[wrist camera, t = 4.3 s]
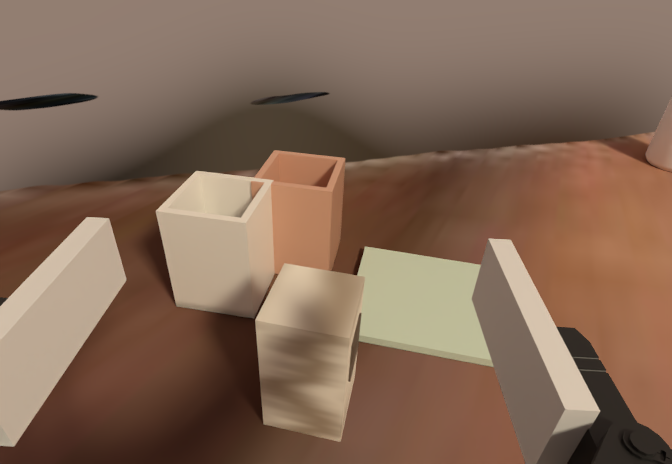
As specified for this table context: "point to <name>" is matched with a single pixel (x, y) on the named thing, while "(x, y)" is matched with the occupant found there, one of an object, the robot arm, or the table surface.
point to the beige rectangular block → (309, 349)
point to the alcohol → (662, 142)
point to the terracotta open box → (304, 207)
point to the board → (421, 305)
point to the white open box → (219, 243)
